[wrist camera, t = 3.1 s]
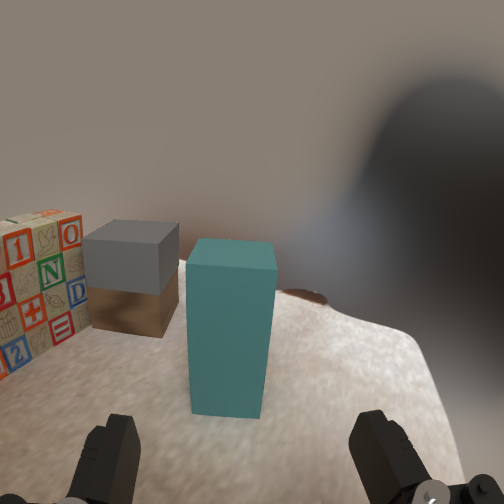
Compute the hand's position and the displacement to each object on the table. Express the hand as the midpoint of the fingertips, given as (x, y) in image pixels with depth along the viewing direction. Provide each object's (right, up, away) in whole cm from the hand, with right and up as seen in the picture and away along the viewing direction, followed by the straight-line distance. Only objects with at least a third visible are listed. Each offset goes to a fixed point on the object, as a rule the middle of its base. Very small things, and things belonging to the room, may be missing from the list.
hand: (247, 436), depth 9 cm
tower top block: (-12, +4, +22) cm, 26 cm away
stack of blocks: (-24, -4, +13) cm, 27 cm away
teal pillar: (-2, -5, +14) cm, 15 cm away
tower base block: (-13, -1, +24) cm, 27 cm away
